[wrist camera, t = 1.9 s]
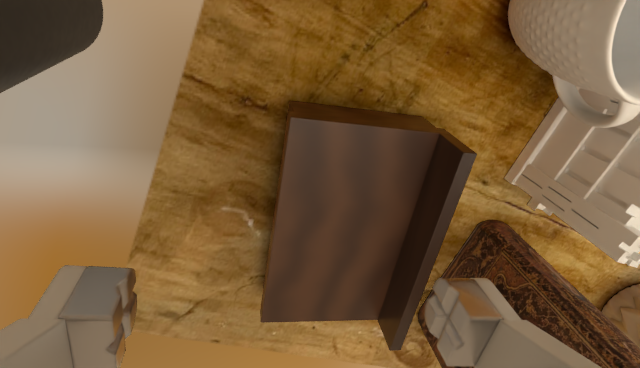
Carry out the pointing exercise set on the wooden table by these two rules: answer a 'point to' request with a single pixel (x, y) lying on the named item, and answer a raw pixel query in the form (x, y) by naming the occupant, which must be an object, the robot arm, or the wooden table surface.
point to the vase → (626, 312)
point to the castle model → (586, 176)
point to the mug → (584, 51)
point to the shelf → (359, 215)
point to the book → (537, 297)
